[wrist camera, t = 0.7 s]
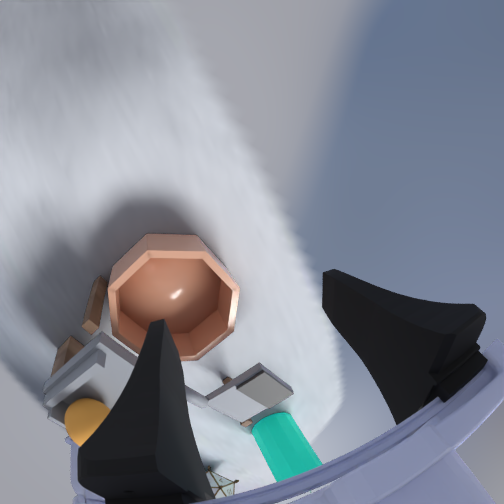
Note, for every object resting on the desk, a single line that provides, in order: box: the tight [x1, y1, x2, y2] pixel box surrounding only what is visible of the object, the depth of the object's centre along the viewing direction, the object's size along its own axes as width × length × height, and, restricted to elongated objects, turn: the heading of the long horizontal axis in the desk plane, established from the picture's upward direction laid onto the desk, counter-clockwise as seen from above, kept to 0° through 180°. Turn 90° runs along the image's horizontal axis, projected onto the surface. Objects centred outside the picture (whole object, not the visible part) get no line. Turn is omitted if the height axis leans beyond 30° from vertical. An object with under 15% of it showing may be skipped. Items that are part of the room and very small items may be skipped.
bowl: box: [108, 234, 240, 361], centre depth 20 cm, size 9×9×4 cm
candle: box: [252, 412, 323, 493], centre depth 29 cm, size 6×6×12 cm
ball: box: [64, 398, 111, 446], centre depth 15 cm, size 4×4×4 cm
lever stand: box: [51, 276, 253, 427], centre depth 21 cm, size 9×17×6 cm, turn 36°
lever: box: [42, 332, 294, 429], centre depth 18 cm, size 14×15×3 cm
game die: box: [206, 466, 239, 499], centre depth 31 cm, size 9×8×10 cm
